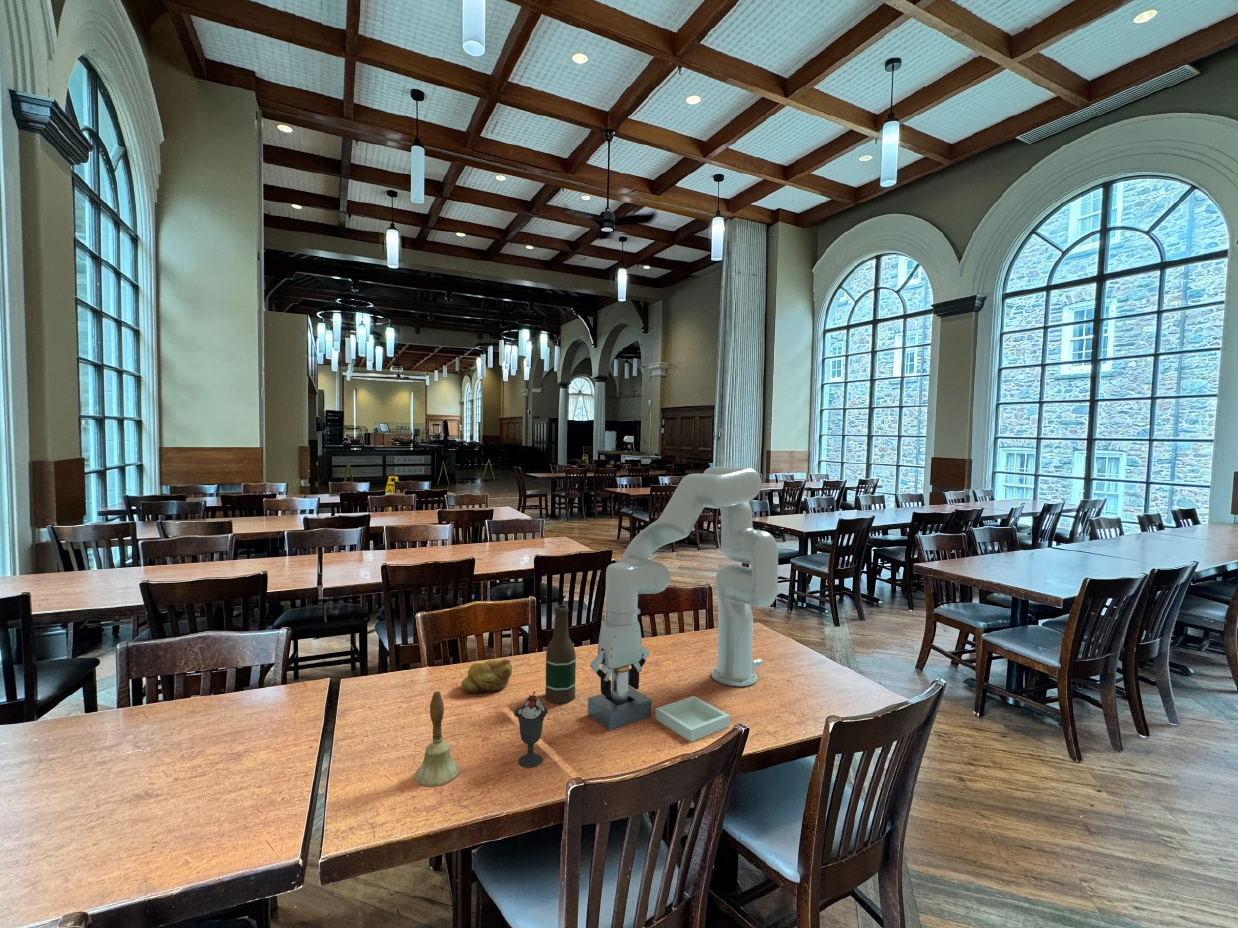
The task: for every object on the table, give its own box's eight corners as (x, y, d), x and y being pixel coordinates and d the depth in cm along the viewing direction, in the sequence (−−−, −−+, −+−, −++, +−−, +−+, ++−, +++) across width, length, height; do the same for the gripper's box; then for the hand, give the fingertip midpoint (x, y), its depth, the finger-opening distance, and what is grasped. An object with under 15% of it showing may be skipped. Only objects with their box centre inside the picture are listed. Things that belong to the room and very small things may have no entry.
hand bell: (422, 791, 101) (422, 706, 101) (409, 770, 108) (410, 689, 108) (465, 776, 106) (466, 694, 106) (451, 757, 113) (451, 680, 113)
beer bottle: (570, 709, 134) (572, 612, 134) (540, 706, 136) (541, 609, 135) (579, 696, 142) (580, 603, 141) (550, 692, 143) (551, 601, 143)
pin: (621, 709, 133) (622, 660, 132) (631, 716, 129) (632, 665, 129) (607, 714, 130) (608, 663, 130) (617, 721, 127) (618, 669, 127)
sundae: (532, 773, 108) (533, 697, 107) (507, 763, 111) (507, 689, 111) (553, 758, 113) (554, 685, 113) (529, 748, 117) (529, 678, 116)
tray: (693, 709, 135) (693, 695, 135) (729, 730, 126) (730, 715, 126) (655, 723, 128) (655, 708, 128) (690, 746, 119) (691, 730, 119)
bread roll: (463, 699, 139) (463, 668, 139) (458, 684, 148) (458, 654, 148) (514, 691, 144) (514, 660, 144) (505, 677, 153) (506, 648, 153)
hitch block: (628, 705, 137) (629, 685, 137) (651, 720, 130) (651, 699, 130) (587, 718, 130) (588, 697, 130) (609, 735, 123) (609, 712, 123)
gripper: (640, 607, 137) (639, 677, 138) (581, 618, 127) (580, 694, 128) (660, 614, 131) (658, 688, 132) (599, 627, 121) (597, 707, 122)
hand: (620, 690), depth 130 cm, fingers open, 7 cm apart
